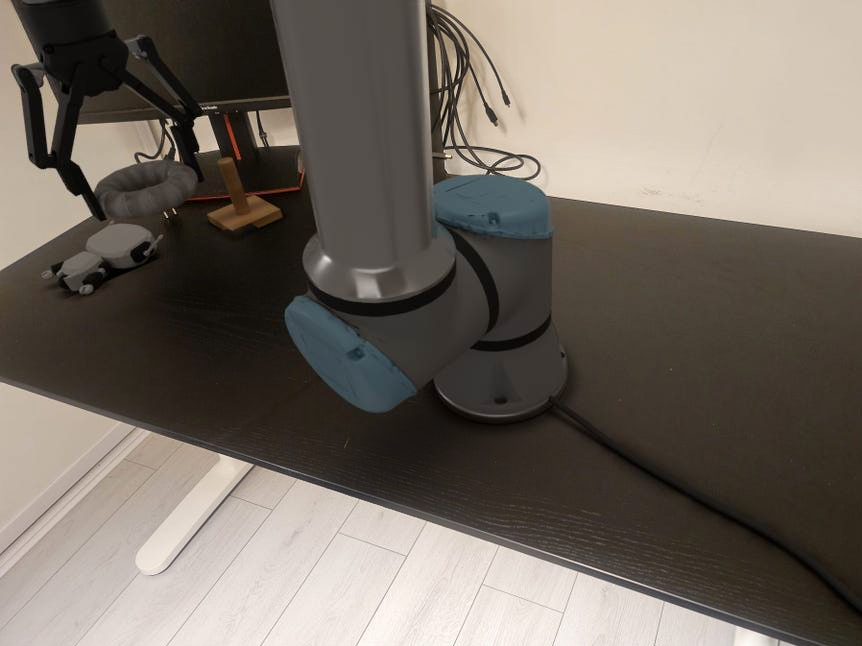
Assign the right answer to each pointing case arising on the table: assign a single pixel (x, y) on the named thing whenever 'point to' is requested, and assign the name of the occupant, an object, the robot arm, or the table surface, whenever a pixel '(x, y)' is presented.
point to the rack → (241, 203)
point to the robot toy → (104, 257)
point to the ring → (166, 189)
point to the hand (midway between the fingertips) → (150, 197)
